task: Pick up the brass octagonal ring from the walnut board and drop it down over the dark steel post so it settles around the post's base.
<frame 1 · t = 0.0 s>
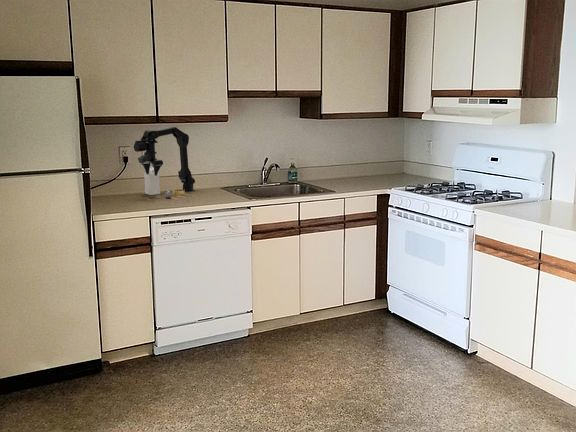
hand: (151, 175, 370), 15 cm above the worktop, fingers open, 9 cm apart
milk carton: (152, 195, 382), on the worktop
brass ring: (178, 194, 378), point 1 cm above the worktop, touching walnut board
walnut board: (174, 197, 372), on the worktop
steel post: (168, 200, 365), resting on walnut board
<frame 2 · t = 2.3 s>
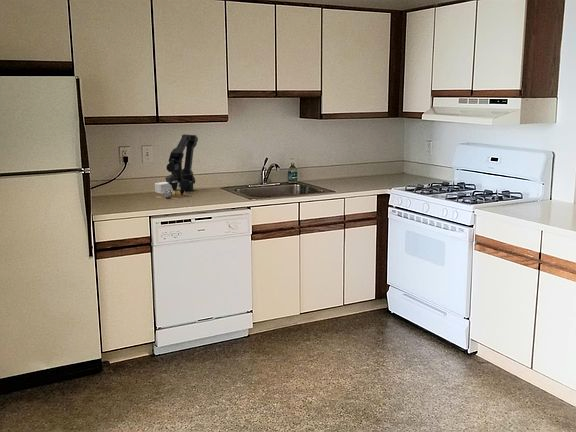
hand: (178, 193, 378), 2 cm above the worktop, fingers closed on brass ring, 7 cm apart
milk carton: (157, 189, 384), point 4 cm above the worktop
brass ring: (178, 194, 378), point 1 cm above the worktop, touching gripper, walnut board
when the fingers open (5 cm above the worktop, at t = 6.1 s): brass ring drops 4 cm, resting on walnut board.
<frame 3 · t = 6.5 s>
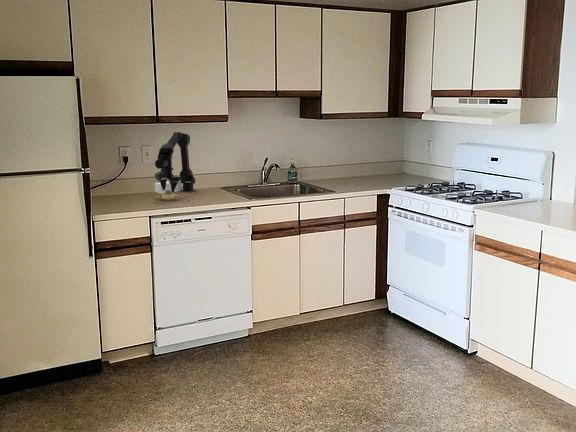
hand: (168, 191, 364), 5 cm above the worktop, fingers open, 9 cm apart
brass ring: (168, 198, 365), point 1 cm above the worktop, touching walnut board
everything else where it was.
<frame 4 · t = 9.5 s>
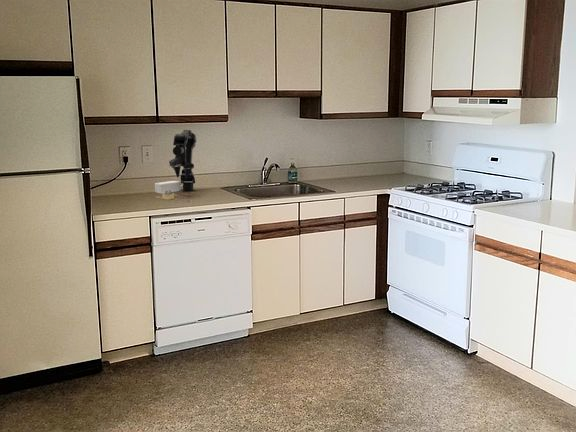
hand: (182, 178, 375), 12 cm above the worktop, fingers open, 9 cm apart
nothing on the worktop moved.
at the end: brass ring 0.0 cm off-centre on the steel post, point 1.0 cm above the steel post's base; the gripper is holding nothing; brass ring tilted 0° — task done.
